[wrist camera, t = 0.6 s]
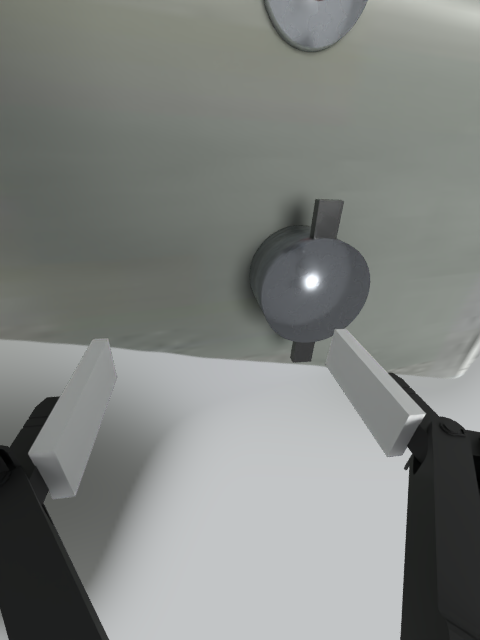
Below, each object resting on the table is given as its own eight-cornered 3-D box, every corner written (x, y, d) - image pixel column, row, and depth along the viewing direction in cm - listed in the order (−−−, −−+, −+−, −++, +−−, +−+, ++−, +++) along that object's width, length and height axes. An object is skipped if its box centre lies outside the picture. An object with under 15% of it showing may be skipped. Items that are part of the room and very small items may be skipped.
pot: (254, 192, 35) (271, 199, 27) (352, 195, 37) (394, 202, 29) (246, 334, 46) (257, 368, 38) (323, 330, 48) (348, 362, 40)
